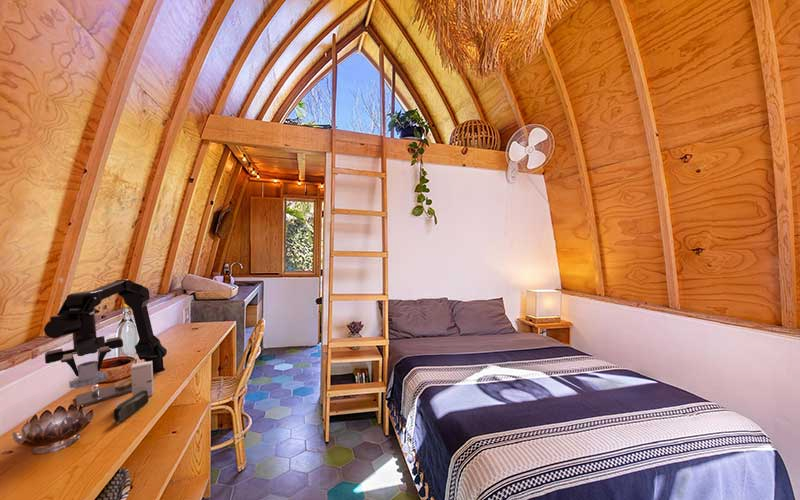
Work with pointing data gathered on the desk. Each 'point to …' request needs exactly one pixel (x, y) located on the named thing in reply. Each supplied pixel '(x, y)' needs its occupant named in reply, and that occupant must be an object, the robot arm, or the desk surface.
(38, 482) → the desk surface
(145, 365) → the skincare box
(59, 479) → the desk surface
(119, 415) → the mobile phone
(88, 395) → the carrier plate
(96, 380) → the grey stepped block
